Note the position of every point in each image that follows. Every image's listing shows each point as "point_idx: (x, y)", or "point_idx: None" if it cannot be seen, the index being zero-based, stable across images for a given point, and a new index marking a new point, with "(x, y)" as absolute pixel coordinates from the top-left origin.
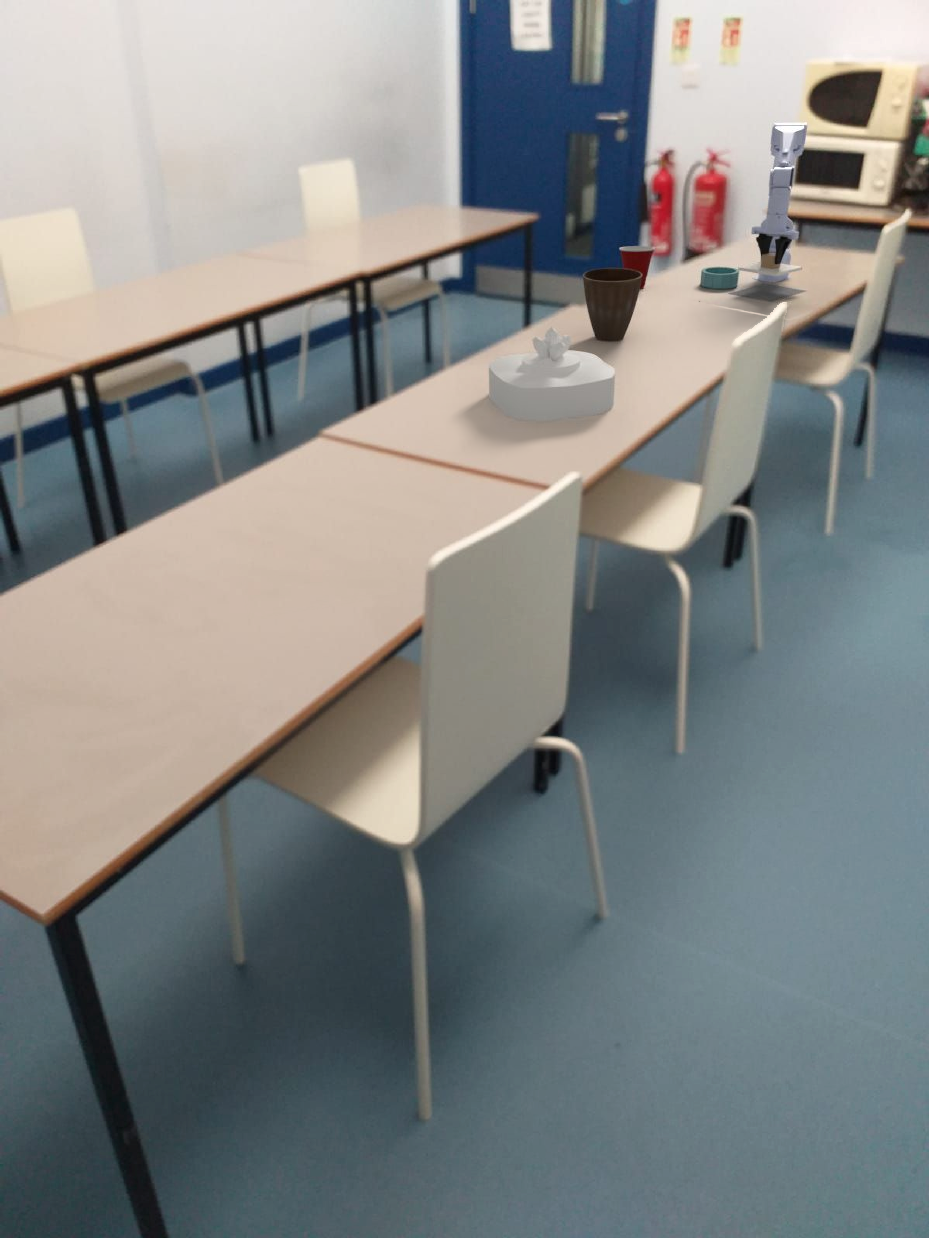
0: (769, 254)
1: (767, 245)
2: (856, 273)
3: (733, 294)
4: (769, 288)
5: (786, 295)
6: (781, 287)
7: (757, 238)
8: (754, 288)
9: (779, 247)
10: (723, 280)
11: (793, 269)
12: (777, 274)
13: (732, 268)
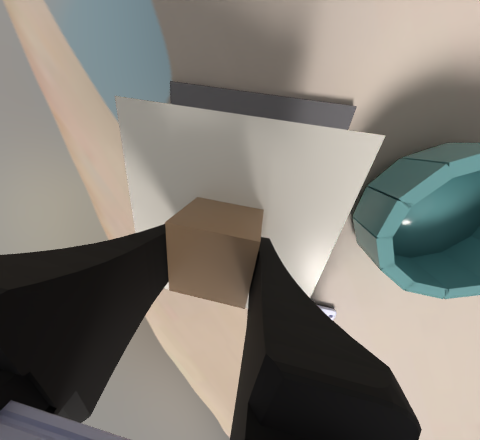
0: (221, 267)
1: (249, 338)
2: (192, 381)
3: (331, 105)
4: None
5: None
6: None
7: (378, 392)
8: None
9: (65, 253)
10: (420, 164)
11: None
12: (122, 112)
13: (417, 286)
